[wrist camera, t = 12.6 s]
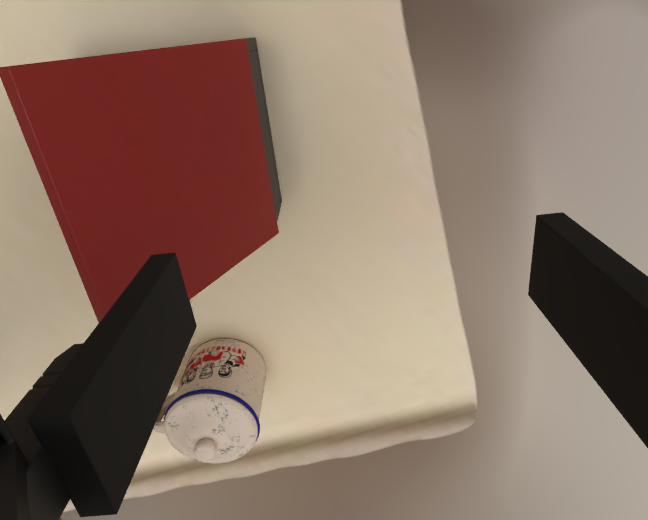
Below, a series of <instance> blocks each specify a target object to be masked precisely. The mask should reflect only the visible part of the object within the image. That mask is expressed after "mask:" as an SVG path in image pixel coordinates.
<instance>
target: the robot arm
mask: <svg viewBox="0 0 648 520" xmlns="http://www.w3.org/2000/svg"><path fill="white" fill-rule="evenodd" d="M535 226H536V227H535V235H534V244H533V255H532V263H531V273H530V282H529V292H528V295H529V296H530V298H531V299H532V300H533V301H534V303H535V304H536V305H537V307H538V308H539V309H540V310H541V312H542V313H543V314H544V316H545V317H546V318H547V319H548V321H549V322H550V323H551V325H552V326H553V327H554V328H555V330H556V331H557V332H558V333H559V335H560V336H561V337H562V339H563V340H564V341H565V343H566V344H567V345H568V346H569V348H570V349H571V350H572V351H573V353H574V354H575V355H576V357H577V358H578V359H579V360H580V362H581V363H582V364H583V366H584V367H585V368H586V369H587V371H588V372H589V373H590V375H591V376H592V377H593V378H594V380H595V381H596V382H597V384H598V385H599V386H600V387H601V389H602V390H603V391H604V393H605V394H606V395H607V396H608V398H609V399H610V400H611V402H612V403H613V404H614V405H615V407H616V408H617V409H618V411H619V412H620V413H621V414H622V416H623V417H624V418H625V419H626V421H627V422H628V423H629V425H630V426H631V427H632V428H633V430H634V431H635V432H636V434H637V435H638V436H639V437H640V439H641V440H642V441H643V443H644V444H645V445H646V446H647V448H648V276H646V275H645V274H643V273H642V272H641V271H639V270H638V269H637V268H636V267H634V266H633V265H632V264H630V263H629V262H627V261H626V260H625V259H624V258H622V257H621V256H620V255H618V254H617V253H616V252H614V251H613V250H612V249H610V248H609V247H608V246H607V245H605V244H604V243H603V242H601V241H600V240H599V239H597V238H596V237H594V236H593V235H592V234H591V233H589V232H588V231H587V230H585V229H584V228H582V227H581V226H580V225H579V224H577V223H576V222H575V221H573V220H572V219H571V218H569V217H568V216H567V215H566V214H564V213H553V214H544V215H537V216H536V225H535ZM196 327H197V326H196V322H195V319H194V315H193V312H192V308H191V305H190V301H189V298H188V294H187V291H186V287H185V284H184V280H183V277H182V273H181V270H180V266H179V263H178V259H177V256H176V252H175V253H165V254H155V255H151V256H150V257H149V259H148V260H147V261H146V262H145V264H144V265H143V266H142V268H141V269H140V270H139V272H138V273H137V274H136V276H135V277H134V278H133V280H132V281H131V282H130V283H129V285H128V286H127V287H126V289H125V290H124V291H123V293H122V294H121V295H120V297H119V298H118V299H117V300H116V302H115V303H114V304H113V306H112V307H111V308H110V310H109V311H108V312H107V314H106V315H105V316H104V318H103V319H102V320H101V321H100V323H99V324H98V325H97V327H96V328H95V329H94V331H93V332H92V333H91V335H90V336H89V337H88V339H87V340H86V341H85V342H84V344H74V345H73V346H71V347H70V348H69V349H67V350H66V351H65V352H63V353H62V354H61V355H59V356H58V357H57V358H55V359H54V361H53V362H52V363H51V364H50V366H49V367H48V368H47V369H46V370H45V372H44V373H43V376H42V377H40V378H39V379H38V380H37V382H36V383H35V384H34V385H33V389H31V390H29V391H28V393H27V394H26V395H25V396H24V397H23V399H22V400H21V401H20V402H19V404H18V405H17V406H16V407H15V409H14V410H13V411H12V412H11V413H10V415H9V416H8V417H7V418H6V420H5V421H4V420H3V418H2V416H1V414H0V520H62V519H61V518H60V516H61V514H62V513H63V511H64V509H65V507H66V505H67V503H68V501H69V500H70V499H71V501H72V503H73V504H74V506H75V508H76V510H77V512H78V513H79V515H80V517H85V516H86V517H87V516H100V515H112V514H117V512H118V510H119V508H120V505H121V503H122V501H123V498H124V496H125V494H126V491H127V489H128V487H129V484H130V482H131V480H132V477H133V475H134V472H135V470H136V468H137V465H138V463H139V461H140V458H141V456H142V454H143V451H144V449H145V447H146V444H147V442H148V440H149V437H150V435H151V432H152V430H153V428H154V425H155V423H156V421H157V418H158V416H159V414H160V411H161V409H162V407H163V404H164V402H165V400H166V397H167V395H168V392H169V390H170V388H171V385H172V383H173V381H174V378H175V376H176V374H177V371H178V369H179V367H180V364H181V362H182V360H183V357H184V355H185V352H186V350H187V348H188V345H189V343H190V341H191V338H192V336H193V334H194V331H195V329H196Z"/></svg>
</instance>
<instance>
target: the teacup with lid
mask: <svg viewBox="0 0 648 520" xmlns="http://www.w3.org/2000/svg"><path fill="white" fill-rule="evenodd" d="M265 379H266V366H265V363H264V361H263V359H262V357H261V356H260V354H259V353H258V352H257V351H256V350H255V349H254V348H252V347H251V346H249V345H247V344H246V343H243V342H241V341H238V340H233V339H216V340H212V341H209V342H206V343H204V344H202V345H201V346H200V347H198V348H197V349H196V350H195V351H194V353H193V354H192V356H191V358H190V360H189V363H188V365H187V368H186V370H185V373H184V375H183V378H182V380H181V383H180V385H179V388H178V390H177V392H175V393H173V394H171V395H170V396H168V397H167V398H166V400H165V402H164V404H163V407H162V409H161V411H160V414H159V416H158V418H157V421H156V423H155V425H154V428H153V429H154V430H155V431H157V432H161V433H166V436H167V438H168V440H169V441H170V443H171V444H172V445H173V447H174V448H175V449H177V450H178V451H179V452H180V453H182V454H183V455H185V456H187V457H189V458H191V459H194V460H197V461H200V462H206V463H224V462H229V461H233V460H235V459H238V458H240V457H241V456H243V455H245V454H246V453H247V452H248V451H249V450H250V449H251V448H252V447H253V445H254V444H255V442H256V441H257V439H258V436H259V431H260V424H259V416H260V410H261V404H262V398H263V392H264V385H265ZM164 415H165V417H164V421H161V420H162V418H163V416H164Z"/></svg>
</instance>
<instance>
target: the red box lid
mask: <svg viewBox="0 0 648 520" xmlns="http://www.w3.org/2000/svg"><path fill="white" fill-rule="evenodd" d="M0 77H1V80H2V82H3V85H4V87H5V90H6V92H7V95H8V97H9V100H10V102H11V105H12V107H13V110H14V112H15V115H16V117H17V120H18V122H19V125H20V127H21V130H22V132H23V135H24V137H25V140H26V142H27V145H28V147H29V150H30V152H31V155H32V157H33V160H34V162H35V165H36V167H37V170H38V172H39V175H40V177H41V180H42V182H43V185H44V187H45V190H46V192H47V195H48V197H49V200H50V202H51V205H52V207H53V210H54V212H55V215H56V217H57V220H58V222H59V225H60V227H61V230H62V232H63V235H64V237H65V240H66V242H67V245H68V247H69V250H70V252H71V255H72V257H73V260H74V262H75V265H76V267H77V270H78V272H79V275H80V277H81V280H82V282H83V285H84V287H85V290H86V292H87V295H88V297H89V300H90V302H91V305H92V307H93V310H94V312H95V315H96V317H97V320H98V322H99V323H100V321H101V320H102V319H103V318H104V316H105V315H106V314H107V312H108V311H109V310H110V308H111V307H112V306H113V304H114V303H115V302H116V300H117V299H118V298H119V297H120V295H121V294H122V293H123V291H124V290H125V289H126V287H127V286H128V285H129V283H130V282H131V281H132V280H133V278H134V277H135V276H136V274H137V273H138V272H139V270H140V269H141V268H142V266H143V265H144V264H145V262H146V261H147V260H148V259H149V257H150V256H151V255H155V254H165V253H175V252H176V256H177V259H178V263H179V266H180V270H181V273H182V277H183V280H184V284H185V287H186V291H187V294H188V298H189V300H190V299H191V298H193V297H194V296H195V295H197V294H198V293H199V292H201V291H202V290H203V289H205V288H206V287H207V286H209V285H210V284H211V283H213V282H214V281H215V280H217V279H218V278H219V277H221V276H222V275H223V274H225V273H226V272H227V271H229V270H230V269H231V268H233V267H234V266H235V265H237V264H238V263H239V262H241V261H242V260H243V259H245V258H246V257H247V256H249V255H250V254H251V253H253V252H254V251H255V250H257V249H258V248H259V247H261V246H262V245H263V244H265V243H266V242H267V241H269V240H270V239H271V238H273V237H274V236H275V235H277V234H278V233H279V231H278V225H277V219H276V214H275V208H274V202H273V196H272V190H271V184H270V178H269V172H268V166H267V160H266V154H265V148H264V143H263V137H262V131H261V125H260V119H259V113H258V107H257V101H256V95H255V89H254V83H253V77H252V72H251V66H250V60H249V54H248V48H247V42H246V39H245V38H244V39H236V40H227V41H219V42H210V43H202V44H193V45H185V46H177V47H168V48H160V49H151V50H143V51H134V52H126V53H118V54H109V55H101V56H92V57H84V58H76V59H67V60H59V61H50V62H42V63H33V64H25V65H17V66H8V67H0Z"/></svg>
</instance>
